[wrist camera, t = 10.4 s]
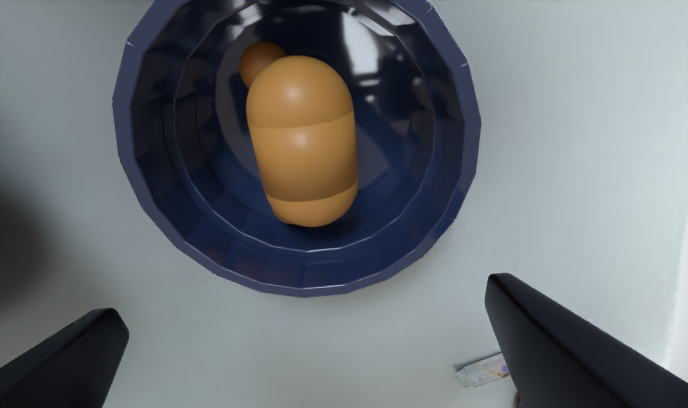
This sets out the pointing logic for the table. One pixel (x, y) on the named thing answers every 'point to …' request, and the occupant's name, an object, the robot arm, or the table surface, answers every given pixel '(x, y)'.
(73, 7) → the table surface
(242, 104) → the bowl
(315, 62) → the croissant
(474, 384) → the granola bar
